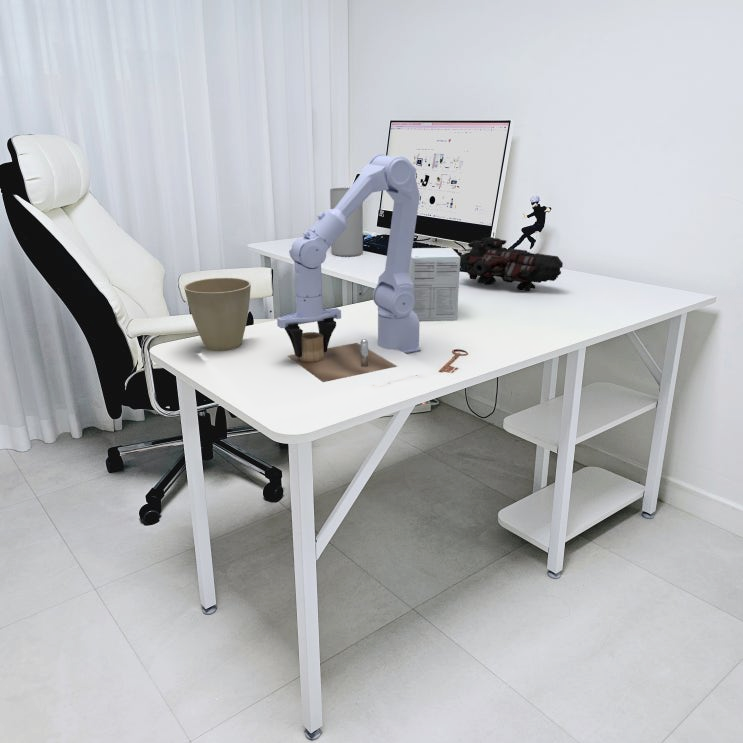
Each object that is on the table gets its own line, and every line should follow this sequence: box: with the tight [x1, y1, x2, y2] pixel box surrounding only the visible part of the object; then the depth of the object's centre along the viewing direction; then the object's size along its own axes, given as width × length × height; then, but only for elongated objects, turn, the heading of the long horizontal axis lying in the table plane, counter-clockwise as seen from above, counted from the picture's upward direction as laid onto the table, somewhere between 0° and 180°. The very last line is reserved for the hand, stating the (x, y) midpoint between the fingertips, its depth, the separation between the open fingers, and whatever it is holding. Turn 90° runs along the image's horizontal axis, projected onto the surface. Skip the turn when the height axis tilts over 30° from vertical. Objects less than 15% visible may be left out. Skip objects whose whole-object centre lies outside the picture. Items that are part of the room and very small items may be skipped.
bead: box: [298, 331, 324, 362], centre depth 146 cm, size 6×6×5 cm
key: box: [438, 348, 469, 374], centre depth 149 cm, size 6×1×15 cm
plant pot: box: [183, 277, 252, 352], centre depth 153 cm, size 15×15×16 cm
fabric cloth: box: [287, 342, 398, 383], centre depth 146 cm, size 18×18×2 cm
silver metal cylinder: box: [360, 338, 369, 367], centre depth 142 cm, size 2×2×6 cm
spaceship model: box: [460, 236, 564, 292], centre depth 210 cm, size 19×32×15 cm, turn 53°
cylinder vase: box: [329, 187, 364, 258], centre depth 258 cm, size 12×12×25 cm
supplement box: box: [409, 247, 461, 322], centre depth 181 cm, size 13×13×18 cm
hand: (311, 353), depth 147 cm, fingers closed on bead, 6 cm apart
